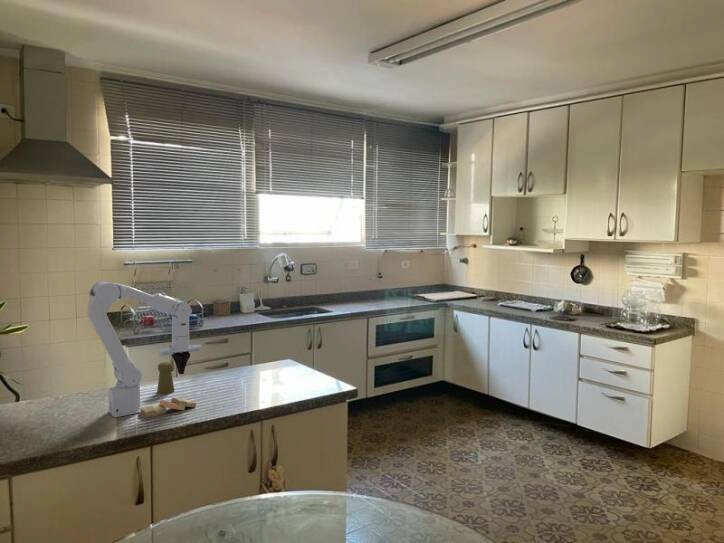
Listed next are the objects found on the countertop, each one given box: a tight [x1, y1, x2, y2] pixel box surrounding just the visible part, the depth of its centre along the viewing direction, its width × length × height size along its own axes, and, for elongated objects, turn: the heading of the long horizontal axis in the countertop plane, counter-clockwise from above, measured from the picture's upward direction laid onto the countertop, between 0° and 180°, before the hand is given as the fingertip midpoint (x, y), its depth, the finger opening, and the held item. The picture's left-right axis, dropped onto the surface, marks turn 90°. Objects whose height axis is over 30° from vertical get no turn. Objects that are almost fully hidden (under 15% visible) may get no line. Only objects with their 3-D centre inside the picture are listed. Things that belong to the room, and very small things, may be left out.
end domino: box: [170, 397, 197, 408], centre depth 185 cm, size 1×5×6 cm
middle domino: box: [141, 403, 167, 417], centre depth 178 cm, size 1×5×6 cm
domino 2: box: [158, 399, 186, 411], centre depth 182 cm, size 1×5×6 cm
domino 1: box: [138, 411, 166, 419], centre depth 179 cm, size 1×5×6 cm
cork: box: [156, 361, 175, 395], centre depth 202 cm, size 6×6×11 cm
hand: (181, 373), depth 191 cm, fingers closed
